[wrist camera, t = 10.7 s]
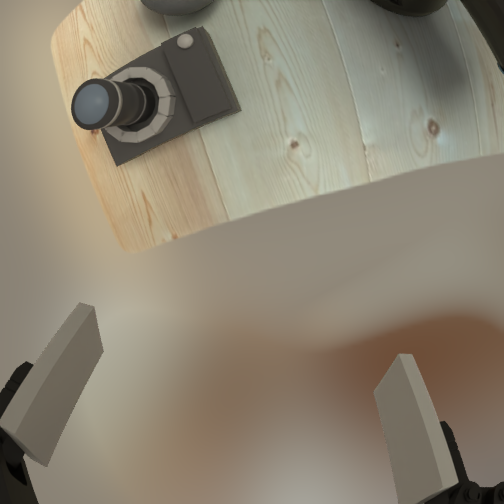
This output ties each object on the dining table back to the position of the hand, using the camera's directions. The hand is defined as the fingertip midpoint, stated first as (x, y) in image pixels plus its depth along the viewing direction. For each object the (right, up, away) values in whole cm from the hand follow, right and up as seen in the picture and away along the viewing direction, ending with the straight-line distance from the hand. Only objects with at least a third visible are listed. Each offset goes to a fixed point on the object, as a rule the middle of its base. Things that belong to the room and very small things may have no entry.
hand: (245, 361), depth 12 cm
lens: (-13, +21, +18) cm, 30 cm away
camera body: (-10, +24, +21) cm, 33 cm away
